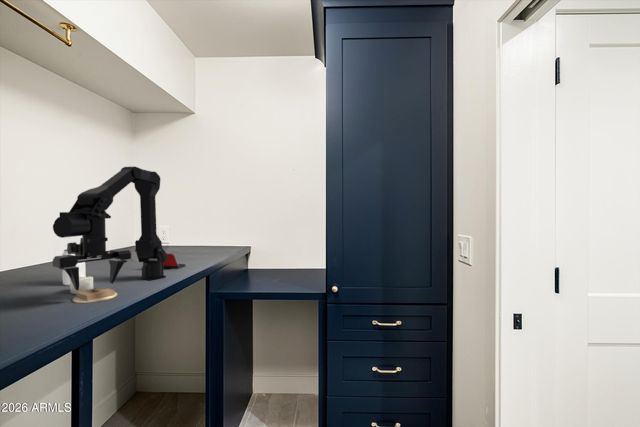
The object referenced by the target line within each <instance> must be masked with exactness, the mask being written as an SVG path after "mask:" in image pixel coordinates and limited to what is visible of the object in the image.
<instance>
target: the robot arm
mask: <svg viewBox="0 0 640 427" xmlns="http://www.w3.org/2000/svg"><path fill="white" fill-rule="evenodd" d="M131 183H132V184H134V188H135V191H136V192H137V194H138V196H139V201H140V202H139V203H140V204H139V205H140V206H139V208H140V228H141V234H140V237H139V238H138V240H135V242H134V244H135V245H134V246H135V249H134V252H136V253H135V254H136V256H137V259H138V262H139V263H142V266H141V276H140V279H142V280H146V281H154V280H157V279H165V278H167V275H164V269H163V262H165V261H167V258H168V255H167V254H168V253H167V252H166V251H165V250H164V248H163V244H162V240H161V239H160V237H159V236H158V235H157V234H158V233H157V213H156V212H157V211H156V210H157V209H156V208H157V207H156V196H157V194H158V192H159V191H160V188H161V176H160V175H159V174H158V172H156V171H151V170H146V169H142V168H140V167H138V166H124V167H121V169H120V170H119V171H118V172H117V173H115V174H113V176H112V177H110V178H109V179H107V180H106V181H104V182H103V183H101V184H100V185H99V186H97V187H93V188H89V189H87V190H84V191H83V192H80V193H79V194H78V195H77V197H76V198H77V199H76V201H75V202H74V204H73V205H72V207H70V208H71V209H70V210H69V211H67V212H65V211H62V212H61V211H60V212H59V217H57V218H56V219H55V220H54V222H53V224H52V230H53V232H54V234H55V235H56V236H57V237H59V238H63V239H65V238H72V237H74V238H75V237H80V236H81V237H80V240H79V241H80V242H79V243H77V242H76V241H74V242H68V243H67V244H66V248H67V252H68V254H75V256H74V255H55V256H54V257H53V259H52V267H53V268H58V269H59V270H62V271H63V270H65V271H66V272H67V274H68V275H69V277H70V279H71V281H72V283H73V285H74V288H75V290H79V267H76V264H77V263H82V262H85V263H89V262H96V261H104V260H108V262H109V267H110V268H109V282H110V284H111V285H113V284H114V283H115V281H116V278H117V277H118V275H119V273H120V271H121V269H122V267H123V266H124V264H125V263H128V260H131V259H132V252H131V251H130V250H129V249H124V248H121V249H111V250H110V252H109V251H107V244H106V243H107V242H108V241H109V239H108V237H107V235H106V219H111V218H112V216H111V215H110V214H109V213H107V210H108V209H109V208H110V207H111V205H112V204H113V202H114V197H115V196H116V195H117V194H119V193H120V192H122V190H123V189H125V188H126V187H127V186H128V185H130V184H131Z"/></svg>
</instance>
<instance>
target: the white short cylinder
mask: <svg viewBox="0 0 640 427" xmlns="http://www.w3.org/2000/svg"><path fill="white" fill-rule="evenodd" d="M90 289H94V277H93V276H86V277H79V290H75V288H74V285H73V283H72V281H71V279H70V285H69V294H75V295H76V292H80V291H85V290H90Z"/></svg>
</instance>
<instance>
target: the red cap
mask: <svg viewBox="0 0 640 427" xmlns="http://www.w3.org/2000/svg"><path fill="white" fill-rule="evenodd" d="M166 254H167V255H168V258H167V261H165V262H163V270H179V269H182V268H185V267H186V263H185V264H184V263H178V262H177V260H176V256H175V255H174V254H173V253H166Z"/></svg>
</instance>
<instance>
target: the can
mask: <svg viewBox="0 0 640 427" xmlns="http://www.w3.org/2000/svg"><path fill="white" fill-rule="evenodd" d="M62 255H74V256H75V254H68V252H67V249H63V253H62ZM62 255H61V256H62ZM76 267H79V277H87V275H86V273H87V272H86V262H82V263H77V264H76ZM62 284H63V285H64V286H70V277H69V275H68V274H67V272H66V271H65V270H62Z"/></svg>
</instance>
